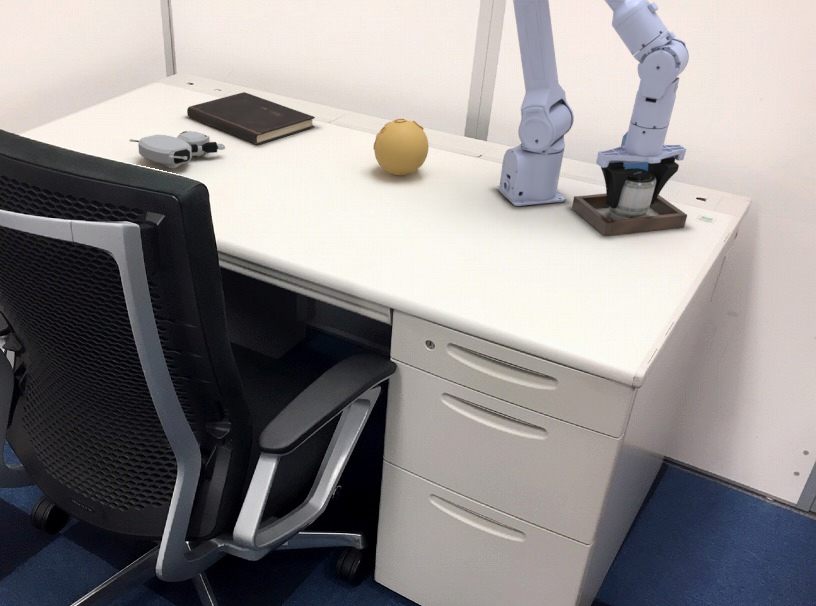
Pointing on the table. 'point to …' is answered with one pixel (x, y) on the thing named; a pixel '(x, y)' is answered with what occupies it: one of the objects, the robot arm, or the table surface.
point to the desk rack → (666, 220)
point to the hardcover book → (251, 117)
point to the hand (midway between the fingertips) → (629, 204)
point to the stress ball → (401, 147)
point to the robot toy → (176, 148)
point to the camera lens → (635, 195)
